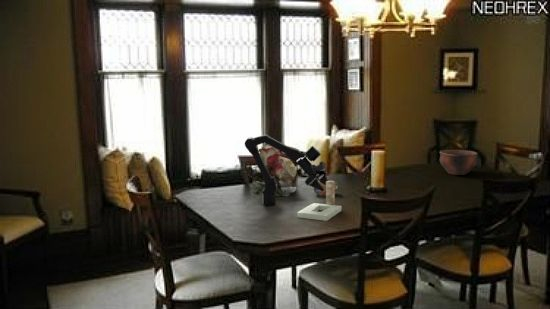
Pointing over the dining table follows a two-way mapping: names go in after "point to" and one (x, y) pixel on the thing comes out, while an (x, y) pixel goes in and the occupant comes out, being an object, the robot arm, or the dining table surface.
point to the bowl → (458, 161)
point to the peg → (330, 193)
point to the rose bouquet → (276, 171)
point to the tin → (321, 193)
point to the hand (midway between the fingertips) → (326, 188)
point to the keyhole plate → (312, 212)
